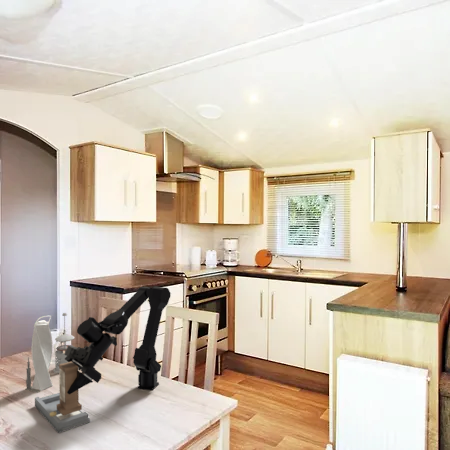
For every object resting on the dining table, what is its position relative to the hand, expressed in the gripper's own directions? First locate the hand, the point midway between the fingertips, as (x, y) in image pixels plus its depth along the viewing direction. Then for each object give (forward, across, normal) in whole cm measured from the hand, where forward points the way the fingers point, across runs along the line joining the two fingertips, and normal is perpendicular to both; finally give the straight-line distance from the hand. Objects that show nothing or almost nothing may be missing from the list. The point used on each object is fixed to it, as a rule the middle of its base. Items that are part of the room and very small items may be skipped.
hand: (64, 390), depth 129 cm
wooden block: (+4, 0, +6) cm, 7 cm away
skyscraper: (+6, -33, +9) cm, 35 cm away
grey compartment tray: (+6, -6, +8) cm, 11 cm away
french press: (-5, -48, +19) cm, 52 cm away
